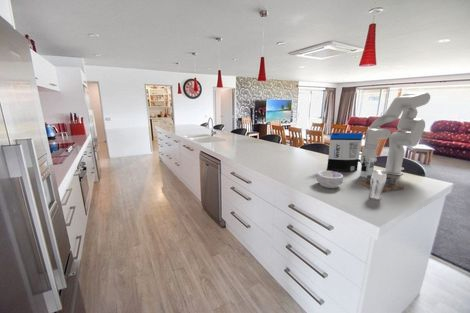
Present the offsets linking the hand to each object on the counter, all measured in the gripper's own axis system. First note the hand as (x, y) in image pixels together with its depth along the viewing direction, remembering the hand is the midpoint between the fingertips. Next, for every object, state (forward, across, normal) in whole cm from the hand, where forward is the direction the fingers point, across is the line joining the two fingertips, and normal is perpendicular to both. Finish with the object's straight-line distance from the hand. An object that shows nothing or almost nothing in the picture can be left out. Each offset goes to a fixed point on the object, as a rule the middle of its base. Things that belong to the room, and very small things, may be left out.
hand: (366, 170), depth 153 cm
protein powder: (+5, +4, -18) cm, 19 cm away
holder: (+5, +9, +17) cm, 20 cm away
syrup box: (+5, 0, 0) cm, 5 cm away
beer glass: (+5, +29, +29) cm, 41 cm away
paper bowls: (+5, +40, +6) cm, 41 cm away
